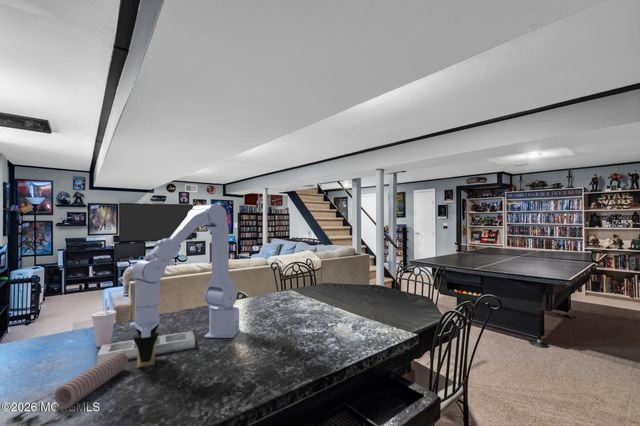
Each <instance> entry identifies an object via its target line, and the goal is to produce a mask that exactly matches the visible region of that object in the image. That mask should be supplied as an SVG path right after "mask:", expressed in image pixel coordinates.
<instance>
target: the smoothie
mask: <svg viewBox="0 0 640 426" xmlns="http://www.w3.org/2000/svg"><path fill="white" fill-rule="evenodd" d="M104 301H105V302H104V310H100V311H97V312H94V313H92V314H91V317H90V318H91V320H92V325H93V332H94V334H93V335H94V341H95V346H96V348H101V346H102V345H104V344H111V343H112V337H113V330H114V325H115V324H114V323H115V319H116V316H117V311H116V310H113V309H111V310H109V309H108V298H106V297H105V299H104Z"/></svg>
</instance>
